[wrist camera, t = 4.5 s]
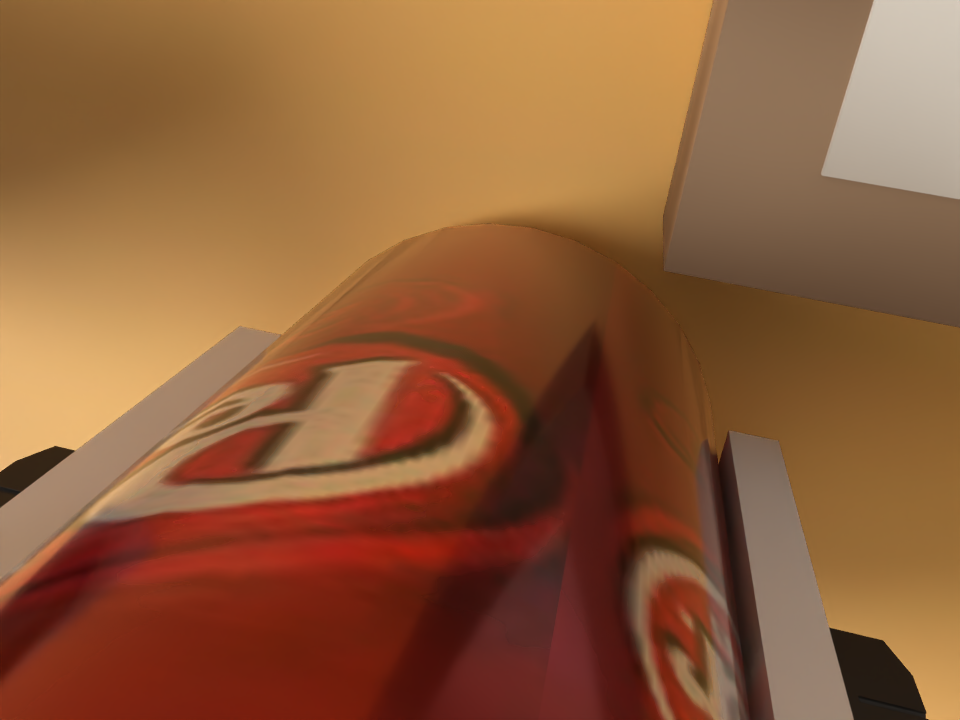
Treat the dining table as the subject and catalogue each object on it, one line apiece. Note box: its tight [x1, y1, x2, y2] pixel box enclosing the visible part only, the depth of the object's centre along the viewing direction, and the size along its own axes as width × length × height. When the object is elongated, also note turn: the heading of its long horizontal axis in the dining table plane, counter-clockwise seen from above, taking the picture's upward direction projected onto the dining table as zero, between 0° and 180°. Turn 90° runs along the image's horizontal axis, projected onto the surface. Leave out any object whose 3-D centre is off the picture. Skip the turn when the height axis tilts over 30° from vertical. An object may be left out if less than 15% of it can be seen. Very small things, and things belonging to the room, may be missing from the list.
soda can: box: [0, 223, 750, 720], centre depth 10 cm, size 7×7×12 cm
